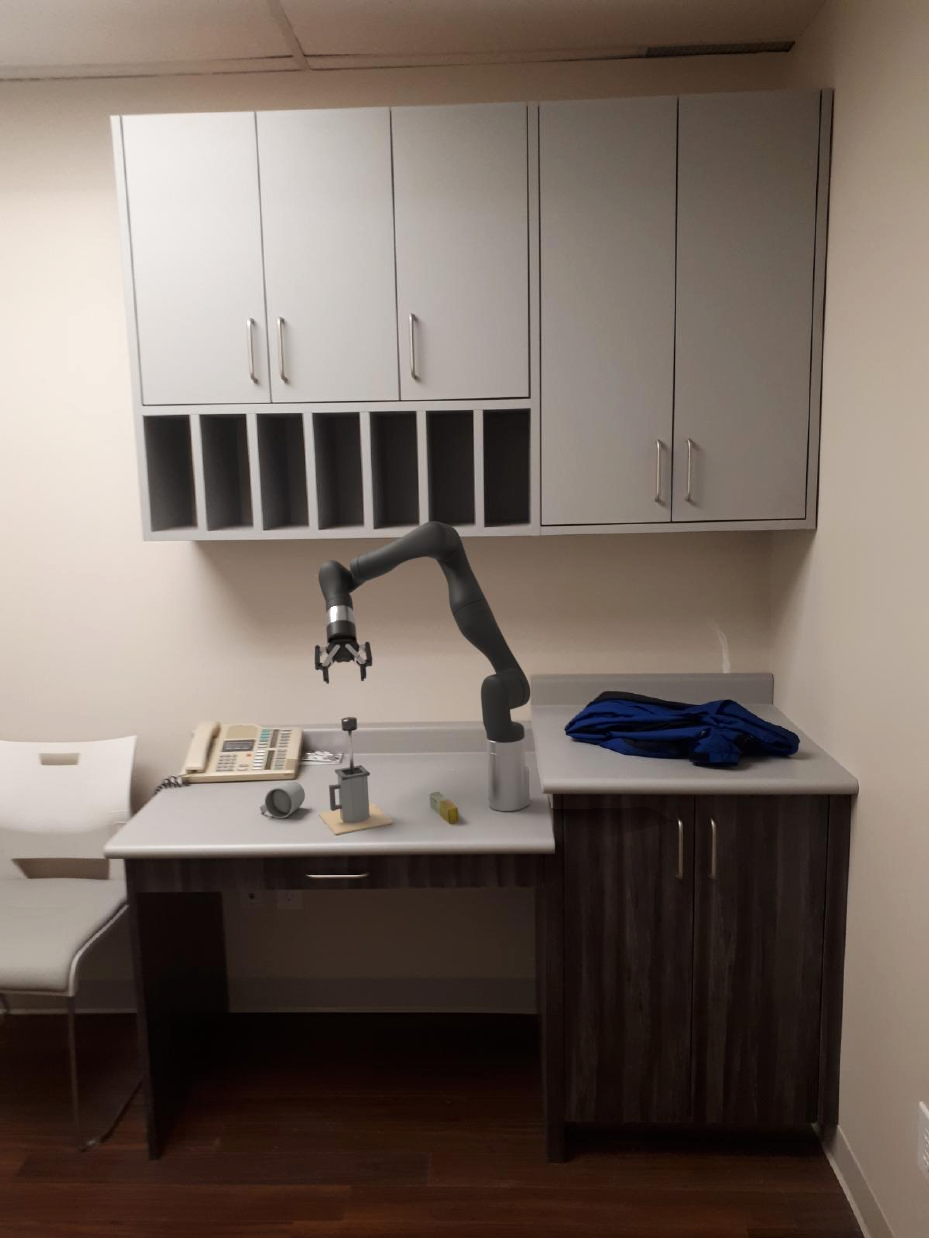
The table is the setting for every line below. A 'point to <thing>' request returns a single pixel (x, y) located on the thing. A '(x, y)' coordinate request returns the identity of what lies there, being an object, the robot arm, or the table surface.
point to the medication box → (444, 807)
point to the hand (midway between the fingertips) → (345, 680)
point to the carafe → (352, 804)
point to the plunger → (350, 737)
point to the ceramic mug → (284, 799)
